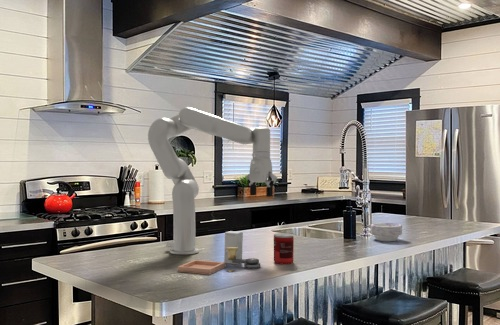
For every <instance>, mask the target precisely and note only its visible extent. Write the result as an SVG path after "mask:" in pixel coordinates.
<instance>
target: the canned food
mask: <svg viewBox="0 0 500 325" xmlns="http://www.w3.org/2000/svg"><path fill="white" fill-rule="evenodd" d="M294 244H295V243H294V234H293V233H292V234H291V233H287V232H278V233H274V234H273V262H274V264H277V265H291V264H293V263H294V247H295V246H294Z"/></svg>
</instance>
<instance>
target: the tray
mask: <svg viewBox="0 0 500 325" xmlns="http://www.w3.org/2000/svg"><path fill="white" fill-rule="evenodd" d="M224 268H226V263H225V262H224V261H223V262H222V261H210V260H199V259H194V260H191V261H188V262H186V263H184V264H181V265H178V266H177V272H178V273H179V272H180V273H181V272H182V273H190V274H192V273H193V274H200V275H201V274H202V275H211V274H213V273H216V272H218V271H220V270H222V269H224Z"/></svg>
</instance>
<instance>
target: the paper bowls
mask: <svg viewBox="0 0 500 325" xmlns="http://www.w3.org/2000/svg"><path fill="white" fill-rule="evenodd" d="M370 235H373V236H374V239H375V240H376V241H379V242H396V241H397V240H398V239H399V237H400V236H402V235H403V225H402V224H400V223H393V222H377V223H372V224H370Z"/></svg>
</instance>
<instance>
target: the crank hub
mask: <svg viewBox="0 0 500 325" xmlns="http://www.w3.org/2000/svg"><path fill="white" fill-rule="evenodd" d="M243 264H244V265H243V266H244V269H246V270H257V269H261V263H260V262H259V263H258V264H246V263H243Z"/></svg>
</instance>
